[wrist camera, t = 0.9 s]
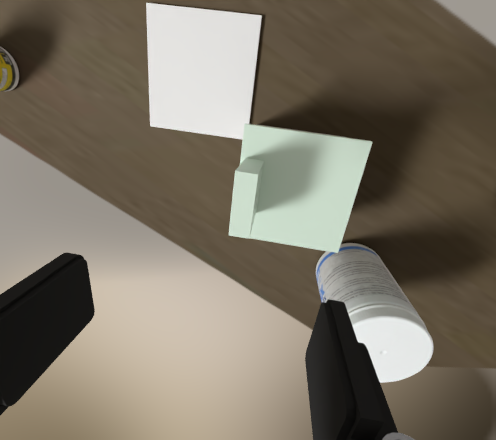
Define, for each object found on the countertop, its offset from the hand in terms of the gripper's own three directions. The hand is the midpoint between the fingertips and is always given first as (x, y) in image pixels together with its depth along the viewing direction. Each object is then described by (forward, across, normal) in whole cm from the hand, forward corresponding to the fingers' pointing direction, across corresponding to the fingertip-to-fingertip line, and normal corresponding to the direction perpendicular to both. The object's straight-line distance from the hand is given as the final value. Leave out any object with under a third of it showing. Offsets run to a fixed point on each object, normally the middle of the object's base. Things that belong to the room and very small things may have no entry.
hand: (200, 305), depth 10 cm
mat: (+27, +8, -10) cm, 30 cm away
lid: (+20, -5, 0) cm, 20 cm away
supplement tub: (+27, -16, +13) cm, 34 cm away
